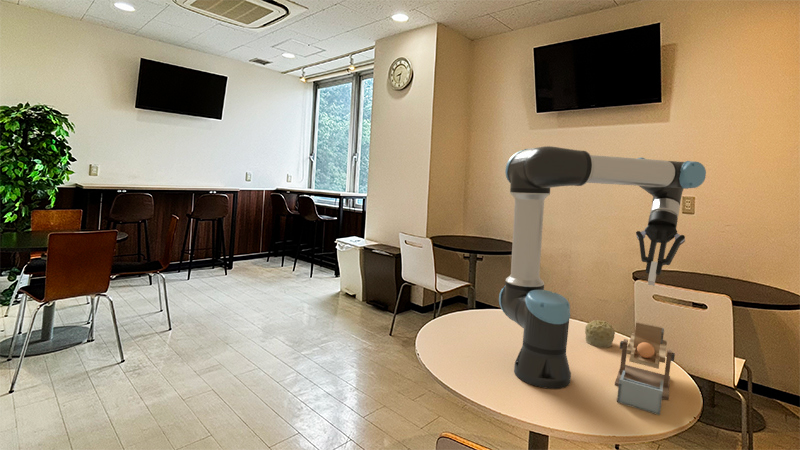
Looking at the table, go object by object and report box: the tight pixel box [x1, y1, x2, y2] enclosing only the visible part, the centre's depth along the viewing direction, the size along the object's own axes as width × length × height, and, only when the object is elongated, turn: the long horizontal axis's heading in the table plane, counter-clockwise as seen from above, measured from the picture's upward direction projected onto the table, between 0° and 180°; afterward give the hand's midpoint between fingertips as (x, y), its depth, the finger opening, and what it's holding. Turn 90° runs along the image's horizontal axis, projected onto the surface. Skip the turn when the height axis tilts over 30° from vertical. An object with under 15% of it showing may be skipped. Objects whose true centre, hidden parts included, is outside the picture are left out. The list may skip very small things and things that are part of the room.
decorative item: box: [584, 319, 616, 349], centre depth 141 cm, size 10×10×10 cm
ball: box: [637, 342, 655, 358], centre depth 106 cm, size 4×4×4 cm
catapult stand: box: [614, 338, 676, 401], centre depth 112 cm, size 15×13×10 cm
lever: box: [626, 321, 668, 370], centre depth 113 cm, size 22×9×9 cm, turn 145°
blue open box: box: [616, 370, 663, 416], centre depth 102 cm, size 9×9×6 cm
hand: (651, 283), depth 117 cm, fingers closed
